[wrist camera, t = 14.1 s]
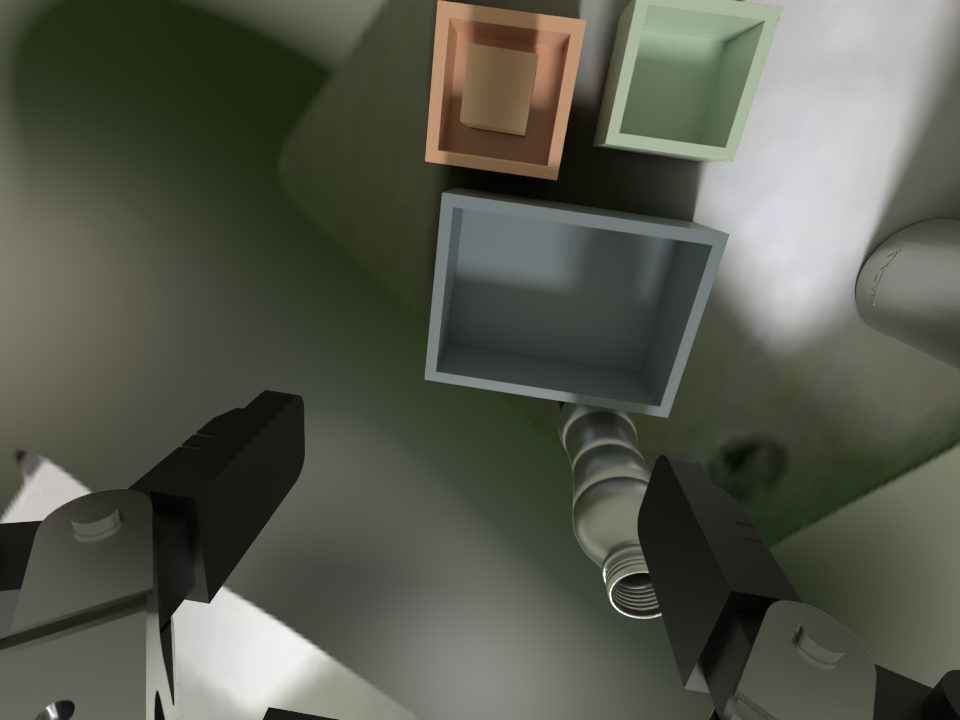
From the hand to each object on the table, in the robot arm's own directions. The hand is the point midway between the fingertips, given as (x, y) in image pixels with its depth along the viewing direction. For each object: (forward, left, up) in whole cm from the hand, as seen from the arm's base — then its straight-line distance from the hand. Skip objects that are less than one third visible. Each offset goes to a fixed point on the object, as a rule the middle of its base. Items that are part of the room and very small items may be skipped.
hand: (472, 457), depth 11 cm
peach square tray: (+2, -10, -30) cm, 32 cm away
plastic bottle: (-10, +14, -30) cm, 35 cm away
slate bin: (-4, +3, -30) cm, 31 cm away
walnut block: (+2, -10, -30) cm, 31 cm away
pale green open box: (-9, -12, -30) cm, 34 cm away
